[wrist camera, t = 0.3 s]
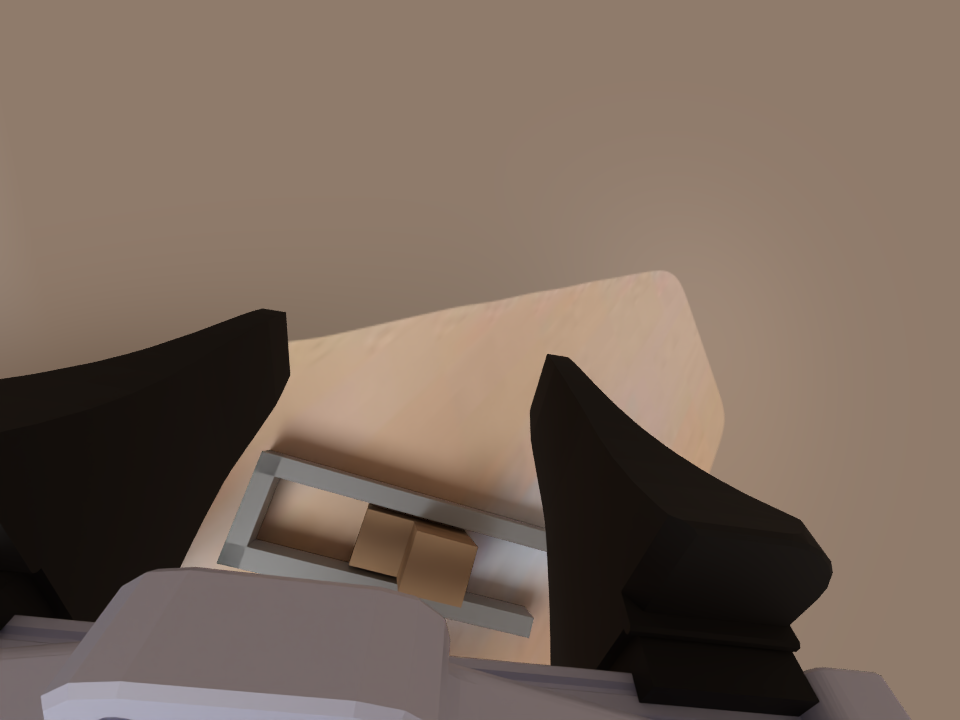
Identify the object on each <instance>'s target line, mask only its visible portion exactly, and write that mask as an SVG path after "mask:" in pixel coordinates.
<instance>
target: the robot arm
mask: <svg viewBox="0 0 960 720" xmlns="http://www.w3.org/2000/svg"><path fill="white" fill-rule="evenodd" d="M286 322H287V321H286V312H281V311H274V310H268V309H259V310H255V311H252V312H249V313H246V314H243V315H240V316H237V317H235V318H232V319H229V320H227V321H224V322H221V323H219V324H216V325H213V326H211V327H208V328H205V329H203V330H200V331H198V332H195V333H192V334H189V335H186V336H183V337H180V338H177V339H174V340H171V341H168V342H165V343H162V344H159V345H156V346H153V347H150V348H146V349H143V350H140V351H136V352H133V353H130V354H126V355H121V356H117V357H113V358H110V359H106V360H102V361H98V362H93V363H88V364H83V365H78V366H74V367H68V368H63V369H58V370H53V371H48V372H42V373H37V374H31V375H25V376H19V377H12V378H5V379H0V720H911V718H910V717H909V716H908V714H907V713H906V711H905V710H904V708H903V707H902V705H901V704H900V702H899V701H898V700H897V698H896V697H895V695H894V694H893V692H892V691H891V690H890V688H889V686H888V685H887V683H886V682H885V681H884V679H883V678H882V676H881V675H879V674H876V673H874V672H865V671H855V670H846V669H836V668H814V669H810V670H806V671H804V672H803V671H802V669H801V667H800V665H799V663H798V662H797V660H796V658H795V656H794V654H793V652H797V651H798V650H799V649H800V642H799V640H798V639H797V637H796V636H795V633H794V632H793V630H792V628H791V627H790V624H791V623H792V622H793V621H795V620H796V619H797V618H798V617H799V616H800V615H801V614H802V613H803V612H804V611H805V610H807V609H808V608H809V607H810V606H811V605H812V604H813V603H814V602H815V601H816V600H817V599H818V598H819V597H820V596H821V594H823V592H824V591H825V590H826V589H827V587H828V584H829V581H830V579H831V576H832V573H833V572H832V565H831V561H830V559H829V558H828V557H827V555H826V554H825V553H824V551H823V550H822V548H821V547H820V546H819V544H818V543H817V542H816V540H815V539H814V538H813V536H812V535H811V533H810V532H809V531H808V529H807V528H806V527H805V525H804V524H803V523H802V521H801V520H800V519H797V518H795V517H793V516H791V515H789V514H787V513H785V512H783V511H780V510H778V509H776V508H774V507H772V506H770V505H768V504H766V503H763V502H761V501H759V500H757V499H755V498H753V497H751V496H749V495H747V494H745V493H743V492H741V491H739V490H737V489H735V488H733V487H732V486H730V485H728V484H726V483H724V482H722V481H720V480H719V479H717V478H715V477H713V476H712V475H710V474H708V473H707V472H705V471H703V470H701V469H700V468H698V467H697V466H695V465H694V464H692V463H690V462H689V461H687V460H686V459H684V458H683V457H681V456H680V455H678V454H676V453H675V452H674V451H672V450H671V449H669V448H668V447H666V446H665V445H664V444H662V443H661V442H660V441H658V440H657V439H656V438H654V437H653V436H652V435H650V434H649V433H648V432H646V431H645V430H644V429H643V428H641V427H640V426H639V425H638V424H637V423H635V422H634V421H633V420H632V419H631V418H630V417H629V416H627V415H626V414H625V413H624V412H623V411H622V410H621V409H620V408H618V407H617V406H616V405H615V404H614V403H613V402H612V401H611V400H610V399H609V398H608V397H607V396H606V395H605V394H604V393H603V392H602V391H601V390H600V389H599V388H598V387H597V386H596V385H595V384H594V383H593V382H592V381H591V380H590V379H589V377H588V376H587V375H586V374H585V373H584V372H583V371H582V370H581V369H580V368H579V367H578V366H577V365H576V364H575V363H574V362H573V361H572V360H571V359H570V358H568V357H563V356H557V355H551V354H547V356H546V360H545V363H544V366H543V369H542V373H541V376H540V379H539V382H538V386H537V389H536V392H535V396H534V399H533V402H532V405H531V409H530V431H531V444H532V450H533V455H534V461H535V467H536V472H537V478H538V483H539V489H540V494H541V500H542V505H543V512H544V520H545V531H546V545H547V561H548V581H549V607H550V653H551V666H550V665H540V664H529V663H519V662H508V661H498V660H487V659H476V658H466V657H455V656H449V651H450V637H449V633H448V628H447V624H446V620H445V619H444V617H443V616H442V615H441V614H440V613H439V612H437V611H436V610H434V609H433V608H432V607H430V606H429V605H428V604H426V603H425V602H423V601H422V600H421V599H419V598H418V597H417V596H414V595H410V594H406V593H402V592H398V591H394V590H391V589H387V588H383V587H377V586H367V585H358V584H349V583H339V582H330V581H321V580H311V579H302V578H293V577H283V576H274V575H265V574H255V573H246V572H237V571H227V570H218V569H209V568H199V567H188V568H180V567H181V565H182V562H183V560H184V558H185V556H186V554H187V552H188V550H189V548H190V546H191V544H192V542H193V540H194V538H195V536H196V534H197V532H198V530H199V528H200V526H201V524H202V522H203V520H204V518H205V516H206V514H207V512H208V510H209V508H210V507H211V505H212V503H213V501H214V499H215V497H216V495H217V494H218V492H219V490H220V488H221V486H222V484H223V483H224V481H225V479H226V478H227V476H228V475H229V473H230V471H231V470H232V468H233V467H234V465H235V464H236V462H237V461H238V459H239V458H240V457H241V455H242V454H243V452H244V451H245V449H246V448H247V447H248V445H249V444H250V442H251V441H252V439H253V438H254V436H255V435H256V434H257V432H258V431H259V429H260V428H261V426H262V425H263V423H264V422H265V420H266V419H267V418H268V416H269V415H270V413H271V412H272V410H273V409H274V407H275V406H276V404H277V402H278V400H279V398H280V396H281V394H282V392H283V390H284V388H285V385H286V383H287V381H288V379H289V377H290V365H289V350H288V336H287V323H286Z"/></svg>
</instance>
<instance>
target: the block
mask: <svg viewBox="0 0 960 720" xmlns="http://www.w3.org/2000/svg"><path fill="white" fill-rule="evenodd" d="M477 549H478V547H477V545H476V544H475V543H474V542H473V541H472V539H471V538H470V537H469V536H468V535H467V533H466V532H465V531H464V530H461V529H458V528H454V527H450V526H447V525H443V524H440V523H436V522H432V521H429V520H425V519H421V518H418V517H414V516H411V515H407V514H403V513H400V512H396V511H392V510H389V509H385V508H382V507H378V506H374V505H371V504H369V505H368V508H367V511H366V514H365V517H364V520H363V523H362V526H361V529H360V532H359V534H358V537H357V540H356V543H355V546H354V549H353V552H352V555H351V559H350V562H349V565H350V566H354V567H358V568H362V569H366V570H370V571H374V572H378V573H382V574H386V575H390V576H394V577H397V588H398V592H402V593H406V594H410V595H414V596H417V597H418V598H422V599H427V600H431V601H435V602H439V603H443V604H447V605H451V606H455V607H459V608H461V606H462V603H463V599H464V596H465V592H466V588H467V585H468V581H469V578H470V574H471V570H472V567H473V563H474V560H475V556H476V552H477Z"/></svg>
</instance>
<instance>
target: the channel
mask: <svg viewBox="0 0 960 720" xmlns="http://www.w3.org/2000/svg"><path fill="white" fill-rule="evenodd" d="M280 478H282V479H285V480H289V481H292V482H296V483H300V484H303V485H307V486H310V487H314V488H318V489H321V490H325V491H329V492H332V493H336V494H339V495H343V496H347V497H350V498H354V499H357V500H361V501H365V502H368V503H372V504H376V505H379V506H383V507H386V508H390V509H394V510H397V511H401V512H405V513H408V514H412V515H415V516H419V517H423V518H426V519H430V520H433V521H437V522H441V523H444V524H448V525H452V526H455V527H459V528H462V529H466V530H470V531H473V532H477V533H481V534H484V535H488V536H491V537H495V538H499V539H502V540H506V541H509V542H513V543H517V544H520V545H524V546H528V547H531V548H535V549H538V550H542V551H546V552H547V545H546V531H545V529H544V528H541V527H538V526H534V525H531V524H527V523H524V522H520V521H517V520H513V519H510V518H506V517H503V516H499V515H496V514H492V513H489V512H485V511H482V510H478V509H475V508H471V507H468V506H464V505H461V504H457V503H454V502H450V501H447V500H443V499H440V498H436V497H433V496H429V495H426V494H422V493H419V492H415V491H412V490H408V489H405V488H401V487H398V486H394V485H391V484H387V483H384V482H380V481H377V480H373V479H370V478H366V477H363V476H359V475H356V474H352V473H349V472H345V471H342V470H338V469H335V468H331V467H328V466H324V465H321V464H317V463H314V462H310V461H307V460H303V459H300V458H296V457H293V456H289V455H286V454H282V453H279V452H275V451H272V450H267V451H262V453H261V455H260V458H259V460H258V462H257V465H256V467H255V470H254V472H253V475H252V477H251V480H250V482H249V485H248V487H247V490H246V492H245V494H244V497H243V499H242V502H241V504H240V507H239V509H238V512H237V514H236V517H235V519H234V521H233V524H232V526H231V529H230V531H229V534H228V536H227V539H226V541H225V544H224V546H223V549H222V551H221V553H220V556H219V558H218V561H217V564H222V565H226V566H230V567H234V568H238V569H243V570H247V571H251V572H255V573H259V574H265V575H274V576H283V577H293V578H302V579H311V580H321V581H330V582H339V583H349V584H358V585H367V586H377V587H383V588H387V589H391V590H394V591H398V588H397V577H394V576H390V575H386V574H382V573H378V572H374V571H370V570H366V569H362V568H358V567H354V566H350V565H349V562H345V561H341V560H337V559H333V558H329V557H325V556H321V555H317V554H313V553H309V552H305V551H301V550H297V549H293V548H289V547H285V546H281V545H277V544H273V543H269V542H265V541H261V540H257V539H256V537H257V535H258V532H259V530H260V527H261V524H262V522H263V519H264V517H265V514H266V512H267V509H268V507H269V504H270V502H271V499H272V496H273V494H274V491H275V489H276V486H277V484H278V481H279V479H280ZM419 599H421V600H422V601H423V602H425V603H426V604H428V605H429V606H430V607H432V608H433V609H434V610H436V611H437V612H439V613H440V614H441V615H442V616H443V617H444V618H447V619H451V620H456V621H460V622H464V623H468V624H472V625H477V626H481V627H485V628H489V629H493V630H497V631H502V632H506V633H510V634H514V635H518V636H523V637H527V638H529V636H530V632H531V627H532V623H533V619H534V618H533V617H532V615H531V614H530V613H529V612H528V610H527V609H526V608H525V607H524V606H520V605H516V604H512V603H508V602H504V601H500V600H496V599H492V598H488V597H484V596H480V595H476V594H472V593H468V592H465V596H464V599H463V603H462V606H461V608H459V607H455V606H451V605H447V604H443V603H439V602H435V601H431V600H427V599H422V598H419Z"/></svg>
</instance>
